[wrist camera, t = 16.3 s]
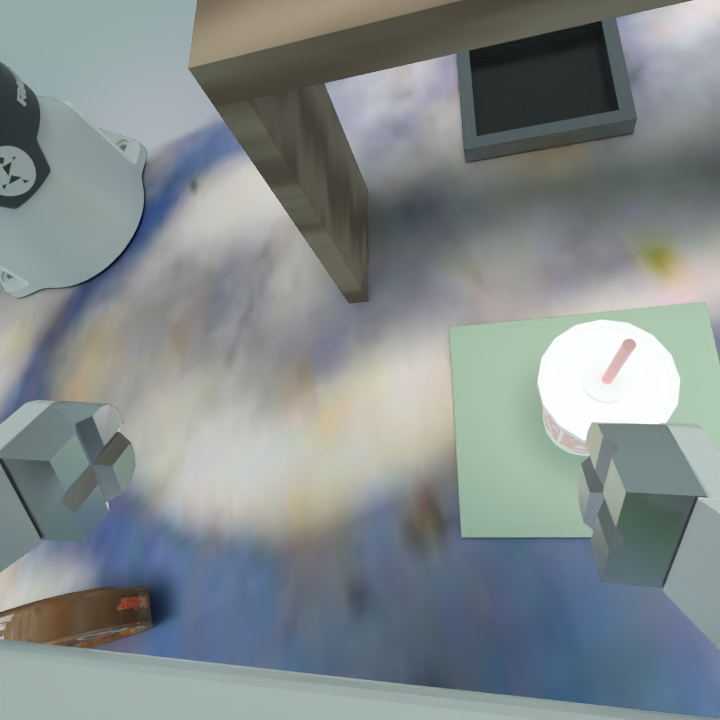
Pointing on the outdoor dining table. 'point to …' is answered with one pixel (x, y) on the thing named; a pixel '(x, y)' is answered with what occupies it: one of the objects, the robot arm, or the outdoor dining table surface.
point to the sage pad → (525, 416)
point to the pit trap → (545, 91)
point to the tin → (80, 618)
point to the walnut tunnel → (334, 62)
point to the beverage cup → (604, 381)
